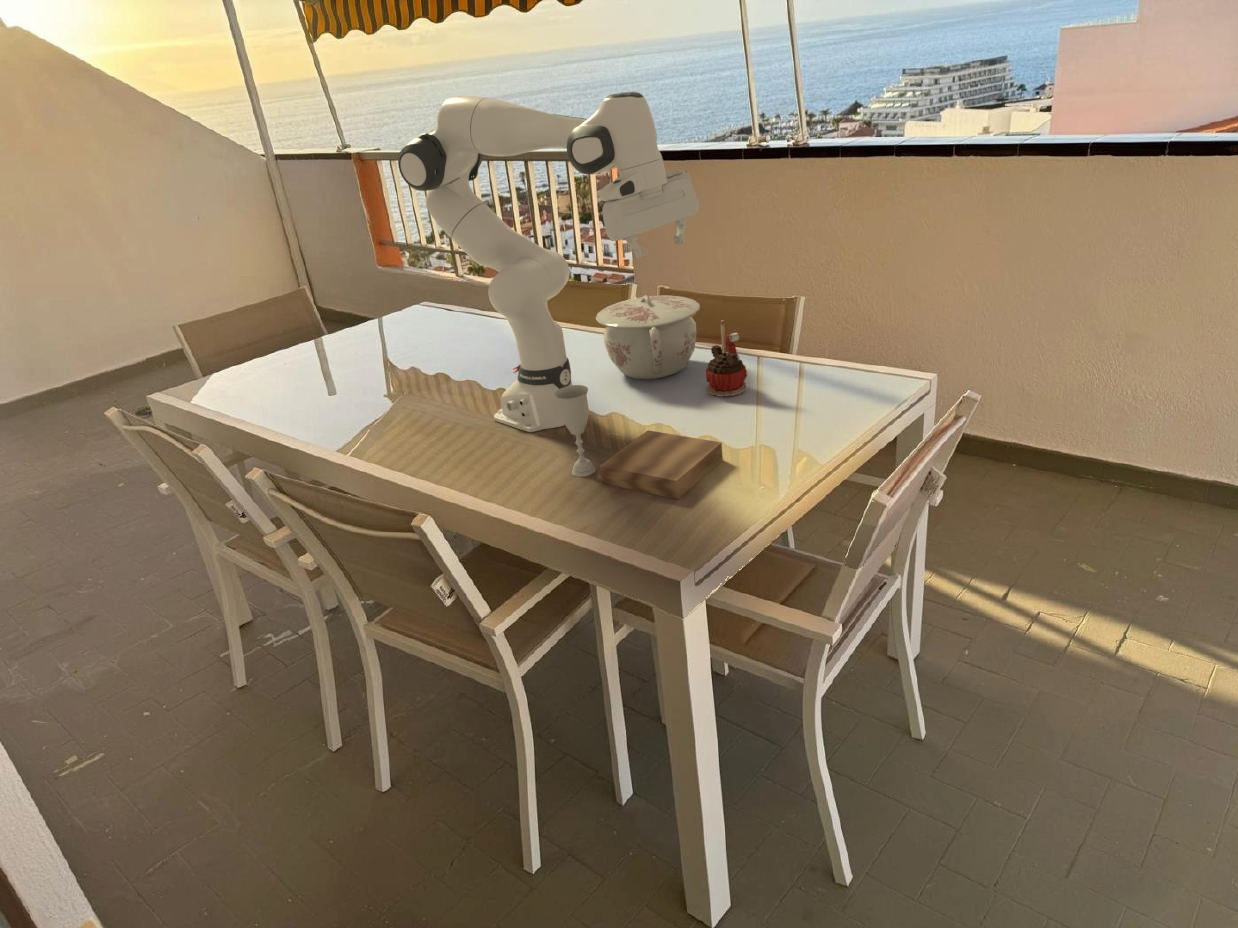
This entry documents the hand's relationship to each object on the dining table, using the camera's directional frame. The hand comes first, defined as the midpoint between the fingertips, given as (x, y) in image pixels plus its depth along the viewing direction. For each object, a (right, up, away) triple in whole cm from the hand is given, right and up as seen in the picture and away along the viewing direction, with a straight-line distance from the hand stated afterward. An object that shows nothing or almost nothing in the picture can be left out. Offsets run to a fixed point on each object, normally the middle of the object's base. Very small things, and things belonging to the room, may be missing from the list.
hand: (661, 250), depth 168 cm
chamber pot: (+1, -18, +59) cm, 62 cm away
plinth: (+1, -44, +5) cm, 44 cm away
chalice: (-16, -44, +9) cm, 48 cm away
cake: (+18, -25, +40) cm, 50 cm away
